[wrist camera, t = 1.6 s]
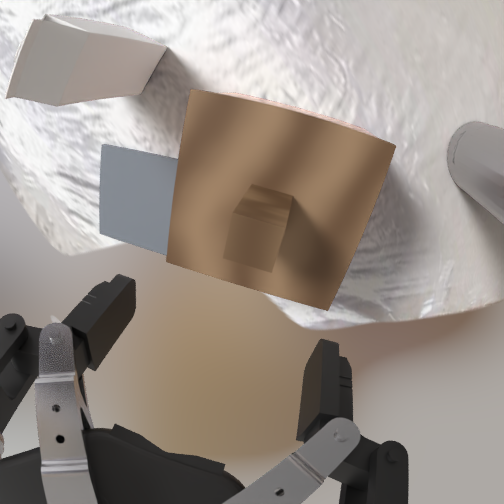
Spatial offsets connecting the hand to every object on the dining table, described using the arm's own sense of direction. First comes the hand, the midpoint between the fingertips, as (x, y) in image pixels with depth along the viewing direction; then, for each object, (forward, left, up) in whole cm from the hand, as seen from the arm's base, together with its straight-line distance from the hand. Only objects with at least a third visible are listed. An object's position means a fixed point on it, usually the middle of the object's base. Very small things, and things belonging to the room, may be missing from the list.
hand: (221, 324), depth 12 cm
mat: (+18, +9, -26) cm, 33 cm away
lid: (0, 0, -14) cm, 14 cm away
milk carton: (+22, -10, -26) cm, 36 cm away
